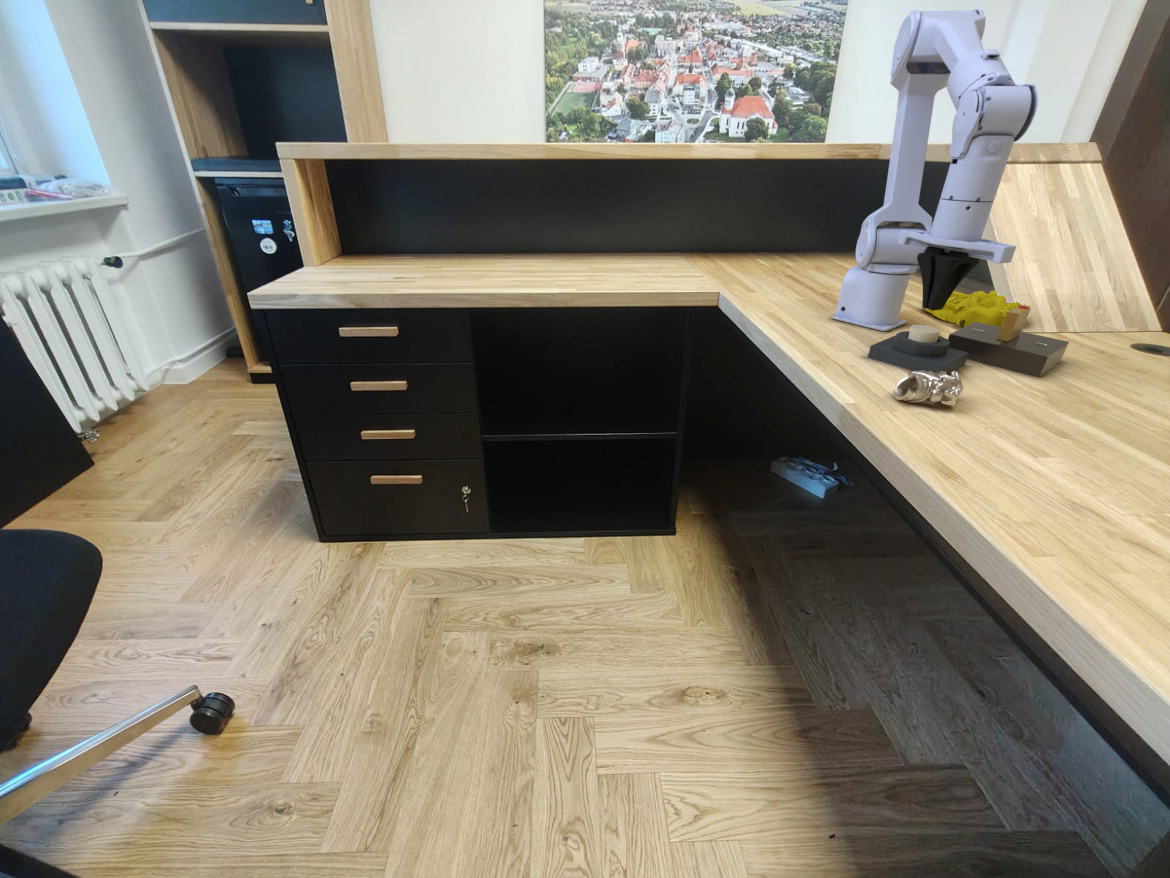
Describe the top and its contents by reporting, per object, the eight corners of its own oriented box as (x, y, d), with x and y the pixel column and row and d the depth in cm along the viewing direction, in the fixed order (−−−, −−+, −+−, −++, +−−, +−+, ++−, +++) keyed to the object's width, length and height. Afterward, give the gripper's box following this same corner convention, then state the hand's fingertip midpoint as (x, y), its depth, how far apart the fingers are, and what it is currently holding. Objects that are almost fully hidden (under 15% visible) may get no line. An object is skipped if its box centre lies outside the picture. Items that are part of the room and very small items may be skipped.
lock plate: (942, 353, 82) (949, 332, 81) (968, 340, 88) (975, 320, 86) (1038, 377, 74) (1048, 355, 73) (1060, 361, 80) (1069, 340, 78)
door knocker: (908, 304, 107) (914, 282, 105) (991, 304, 107) (999, 282, 105) (957, 330, 93) (965, 305, 91) (1053, 331, 92) (1064, 306, 90)
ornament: (921, 417, 63) (931, 387, 61) (880, 392, 69) (888, 365, 67) (979, 410, 65) (990, 381, 63) (934, 387, 71) (943, 360, 69)
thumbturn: (1007, 341, 78) (1019, 312, 76) (996, 339, 79) (1008, 309, 77) (1020, 335, 80) (1032, 306, 78) (1009, 332, 81) (1020, 304, 79)
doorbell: (867, 358, 80) (873, 334, 78) (892, 346, 85) (899, 324, 83) (941, 379, 73) (949, 353, 72) (964, 365, 78) (973, 341, 76)
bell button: (902, 340, 78) (906, 328, 77) (914, 335, 80) (917, 323, 79) (929, 346, 75) (934, 334, 74) (940, 341, 77) (944, 329, 76)
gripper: (1048, 205, 64) (1004, 319, 71) (937, 193, 76) (908, 293, 82) (1008, 206, 62) (966, 325, 68) (899, 195, 74) (872, 297, 80)
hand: (932, 308), depth 75 cm, fingers closed
